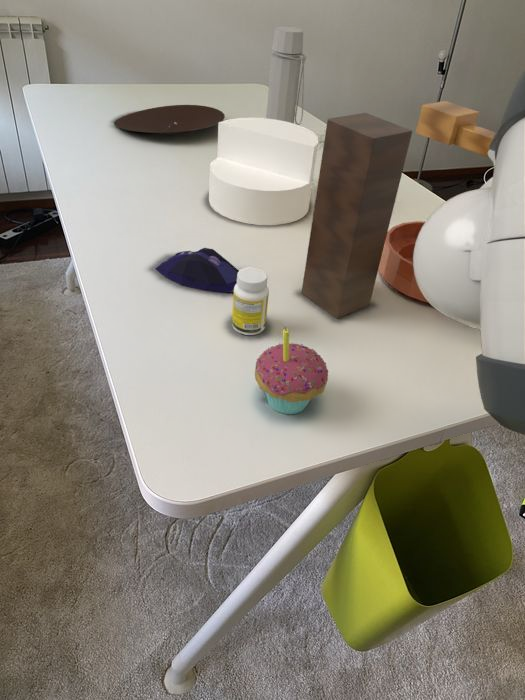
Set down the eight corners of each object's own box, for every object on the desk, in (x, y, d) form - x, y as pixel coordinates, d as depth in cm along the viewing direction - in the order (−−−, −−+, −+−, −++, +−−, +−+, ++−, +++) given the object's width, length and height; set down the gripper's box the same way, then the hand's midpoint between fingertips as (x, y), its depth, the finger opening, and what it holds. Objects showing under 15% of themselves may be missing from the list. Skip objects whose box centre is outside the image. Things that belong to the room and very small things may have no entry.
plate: (152, 104, 155) (151, 90, 153) (242, 124, 148) (242, 110, 146) (90, 129, 135) (89, 114, 133) (191, 154, 128) (191, 138, 125)
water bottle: (259, 143, 137) (268, 29, 122) (268, 134, 143) (278, 24, 128) (295, 150, 136) (308, 35, 120) (302, 140, 142) (316, 30, 126)
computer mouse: (179, 249, 92) (179, 227, 90) (258, 275, 88) (260, 252, 86) (147, 273, 86) (146, 250, 83) (231, 302, 81) (233, 279, 79)
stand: (369, 305, 84) (412, 130, 68) (337, 319, 80) (374, 138, 64) (333, 281, 89) (365, 112, 72) (301, 293, 85) (327, 118, 69)
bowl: (483, 263, 98) (494, 232, 94) (493, 319, 84) (507, 286, 80) (380, 244, 100) (388, 214, 96) (374, 297, 86) (383, 263, 82)
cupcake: (285, 436, 62) (298, 354, 54) (237, 394, 66) (243, 313, 59) (336, 404, 66) (355, 324, 59) (288, 367, 71) (300, 288, 63)
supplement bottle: (246, 312, 80) (250, 261, 75) (272, 326, 78) (278, 274, 72) (224, 325, 77) (227, 274, 72) (250, 340, 75) (254, 288, 69)
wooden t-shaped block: (526, 160, 75) (537, 130, 73) (504, 167, 73) (515, 136, 70) (437, 128, 84) (445, 100, 82) (415, 133, 81) (422, 104, 79)
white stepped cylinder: (189, 206, 106) (189, 135, 98) (240, 175, 120) (244, 111, 112) (281, 235, 100) (290, 162, 91) (324, 199, 114) (334, 133, 106)
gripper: (621, 196, 75) (560, 118, 77) (544, 230, 64) (476, 138, 66) (580, 224, 80) (525, 150, 82) (504, 259, 69) (442, 173, 72)
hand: (502, 145), depth 74 cm, fingers closed on wooden t-shaped block, 3 cm apart
